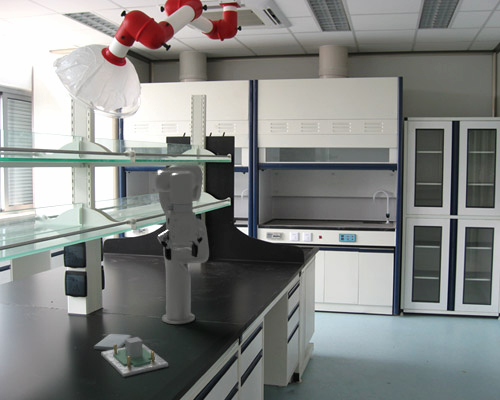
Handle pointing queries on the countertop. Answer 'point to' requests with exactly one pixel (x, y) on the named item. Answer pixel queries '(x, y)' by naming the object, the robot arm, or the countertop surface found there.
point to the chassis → (129, 368)
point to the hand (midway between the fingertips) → (181, 257)
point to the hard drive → (112, 342)
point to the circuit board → (135, 360)
